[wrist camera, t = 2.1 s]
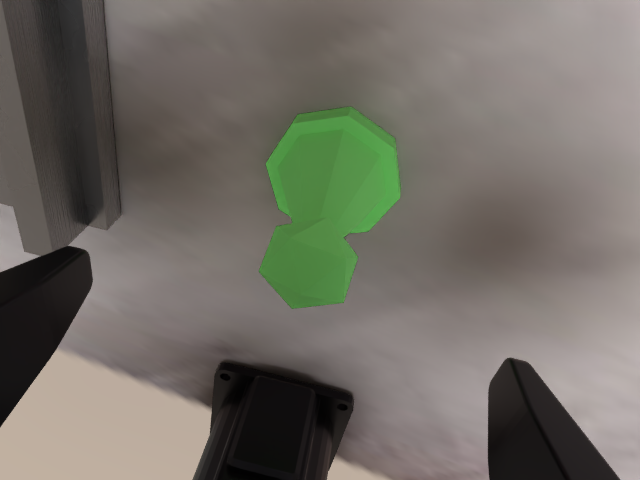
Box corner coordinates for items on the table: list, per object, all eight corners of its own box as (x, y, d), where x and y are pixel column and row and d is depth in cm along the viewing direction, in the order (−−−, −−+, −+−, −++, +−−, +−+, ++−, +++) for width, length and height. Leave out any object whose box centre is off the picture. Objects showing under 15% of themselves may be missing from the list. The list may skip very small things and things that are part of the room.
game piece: (421, 123, 14) (427, 240, 9) (382, 238, 16) (371, 376, 11) (280, 89, 14) (210, 186, 9) (264, 208, 16) (202, 333, 12)
